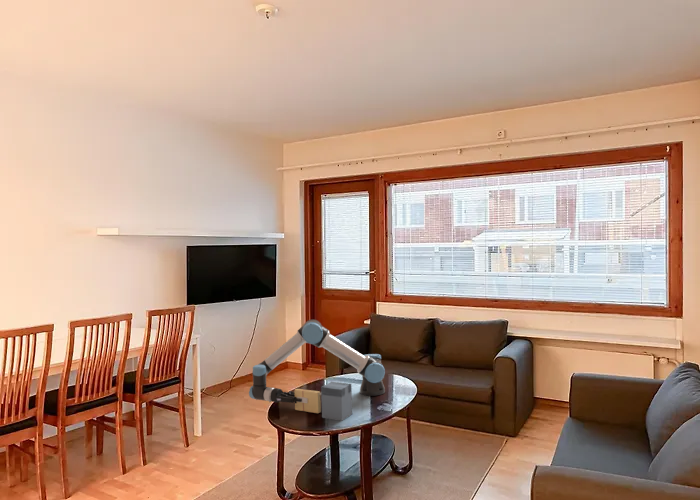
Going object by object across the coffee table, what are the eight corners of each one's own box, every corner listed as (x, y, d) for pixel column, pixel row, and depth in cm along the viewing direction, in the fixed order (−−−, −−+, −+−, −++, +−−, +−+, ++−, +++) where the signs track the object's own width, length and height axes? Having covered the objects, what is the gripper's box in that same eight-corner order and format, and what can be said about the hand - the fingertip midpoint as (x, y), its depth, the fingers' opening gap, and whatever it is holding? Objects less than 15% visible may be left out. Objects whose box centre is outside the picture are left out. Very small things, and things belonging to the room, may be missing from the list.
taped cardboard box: (295, 409, 274) (294, 389, 274) (297, 408, 276) (297, 388, 276) (318, 413, 267) (317, 392, 266) (320, 411, 269) (320, 391, 269)
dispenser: (321, 417, 261) (320, 386, 261) (331, 410, 271) (330, 381, 270) (342, 420, 255) (341, 389, 255) (352, 414, 265) (351, 383, 265)
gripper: (282, 397, 289) (316, 402, 278) (265, 405, 275) (301, 411, 264) (281, 384, 289) (316, 388, 278) (265, 392, 275) (300, 396, 264)
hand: (309, 399), depth 271 cm, fingers closed on taped cardboard box, 3 cm apart
